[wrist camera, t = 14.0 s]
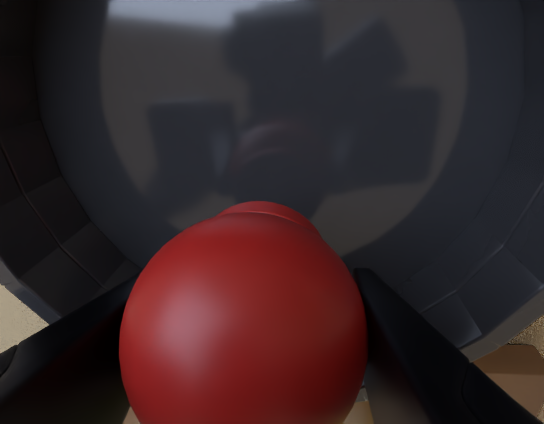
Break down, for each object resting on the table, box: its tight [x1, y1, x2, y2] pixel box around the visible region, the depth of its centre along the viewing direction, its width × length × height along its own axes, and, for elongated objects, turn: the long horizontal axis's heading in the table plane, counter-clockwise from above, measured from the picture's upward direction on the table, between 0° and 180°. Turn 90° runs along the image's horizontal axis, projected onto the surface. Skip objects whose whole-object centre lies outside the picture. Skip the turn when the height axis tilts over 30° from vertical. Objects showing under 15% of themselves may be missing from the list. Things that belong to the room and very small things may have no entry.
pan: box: [0, 0, 544, 403], centre depth 9 cm, size 16×16×4 cm
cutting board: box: [123, 344, 544, 424], centre depth 17 cm, size 22×11×2 cm, turn 94°
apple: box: [119, 201, 368, 424], centre depth 7 cm, size 5×5×6 cm
